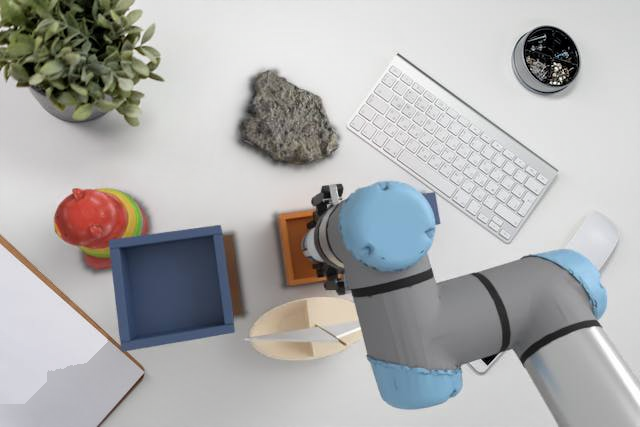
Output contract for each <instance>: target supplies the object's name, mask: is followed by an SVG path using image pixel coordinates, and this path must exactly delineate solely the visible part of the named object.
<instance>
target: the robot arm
mask: <svg viewBox="0 0 640 427" xmlns="http://www.w3.org/2000/svg"><path fill="white" fill-rule="evenodd" d="M343 194H344V186H343V184H342V183H334V184H326V185H321V188H320V192H318V193H317V194H315V195H314V196H312V197H311V200H310V204H311V205H312V207H315V210H316V211H313V214H312V216H313V220H312V221H310V222H309V223H307V224H306V226H307V229H311V228H314V227H315V230H314V244H315V247H316V250H317V252H318V254H319V256H320V257H321V258H322V259H323V260H324V261H325V262H324V263H317V264H312V266H313V269H316V274H317V278H321V277H326V278H327V280H324V281H323V283H324V284H323V288H324V289H325V291H335V292H336V293H337V295H338V296H345V295H352V299H353V303H354V304H355V307H356V311H357V315H358V319H359V323H360V327H361V331H362V335H363V336H362V339H363V342H364V346H365V350H366V355H365V356H366V360H367V361H368V363H370V367H371V370H372V373H373V377H374V380H375V383H376V386H377V389H378V391H379V394H380V397H381V399H382V401H383V402H385V403H386V404H387V405H389V406H391V407H392V408H394V409H399V410H404V411H405V410H408V411H409V410H412V411H413V410H423V409H427V408H432V407H435V406H439V405H442V404H444V403H447V401H448V400H450V399H452V398H455V397H457V395H459V394H460V392H461V391H462V388H463V385H464V383H463V380H464V379H463V369H462V366H463V365H466V364H469V363H471V362H475V361H479V360H482V359H485V358H488V357H491V356H493V355H498V354H500V353H503V352H506V351H510V350H512V351H513V352H514V353H515V356H516V357H517V359H518V360H519V361H520V363H521V365H522V366H523V368H524V369H525V371H526V372H527V374H528V376H529V378H530V379H531V381H532V383H533V385H534V386H535V389H537V392H538V393H539V395H540V397H541V398H542V400H543V402H544V403H545V405H546V407H547V409H548V411H549V413H550V414H551V416H552V418H553V419H554V421H555V423H556V425H557V427H640V379H639V377H638V376H637V375H636V373H635V372H634V371H633V369H632V368H631V366H630V365H629V364H628V362H627V360H626V359H625V358H624V356H623V355H622V354H621V352H620V350H619V349H618V348H617V347H616V345H615V344H614V342H613V341H612V340H611V338H610V336H609V335H608V334H607V333H606V331H605V329H604V328H603V326H602V324H601V323H600V322H599V320H600V319H601V318H603V315H604V314H605V313H606V310H607V306H608V292H607V288H606V287H605V286H604V285H603V283H602V282H601V278H602V275H601V273H600V271H599V270H598V269H597V267H596V266H595V264H594V263H593V262H592V261H591V260H590V259H589V258H588V257H586V255H584V254H582V253H580V252H578V251H576V250H573V249H569V248H560V249H555V250H550V251H543V252H539V253H532V254H528V255H523V256H522V257H521V258H519V259H515V260H512V261H509V262H506V263H503V264H499V265H496V266H493V267H489V268H487V269H483V270H480V271H477V272H472V273H468V274H467V273H466V274H463V275H460V276H456V277H453V278H449V279H446V280H441V281H438V282H437V280H436V277H435V275H434V270H433V268H432V264H431V261H430V258H429V254H428V252H429V251H430V249H431V247H432V245H433V242H434V238H435V234H436V225H435V218H434V213H433V211H432V208H431V206H430V204H429V203H428V201H427V200H426V198H425V197H424V196H423V195H422V194H423V193H421V192H420V191H419V190H418V189H417V188H416V187H414V186H412V185H410V184H407V183H405V182H401V181H396V180H383V181H377V182H375V183H373V184H370V185H367V186H363V187H362V186H361V187H359V188H357V189H355V191H354V192H351V193H350V194H349V195H348V197H346V198H345V199H344V198H343ZM340 274H342V276H341V277H340V278H338V275H340Z"/></svg>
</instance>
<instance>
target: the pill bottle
mask: <svg viewBox="0 0 640 427" xmlns="http://www.w3.org/2000/svg"><path fill="white" fill-rule="evenodd" d="M314 230H315V227H314V228H312V229H311V230H309V231H308V232H307V233H306V234H305V235H304V237H303V239H302V243H301V248H302V252H303V254H304V255H305V257H306V258H307V259H308V260H310V261H312V262H315V263H324V262H325V261H324V260H323V259H322V258H321V257H320V256H319V254H318V252H317V250H316V247H315V244H314Z"/></svg>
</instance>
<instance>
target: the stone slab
mask: <svg viewBox="0 0 640 427" xmlns="http://www.w3.org/2000/svg"><path fill="white" fill-rule="evenodd" d="M253 88H254V89H255V90H254V92H253V94H252V96H251V99H250V101H249V103H248V105H247V108H246V112H247V114H249V115H253V116H254V117H247V118H245V119H244V120H243V122H241V126H240V130H239V131H240V134H241V138H242V142H244V143H247V144H248V145H250V146H253V147H255V148H258V149H261V150H263V151H264V153H266V154H267V156H268V157H269V158H270V159H272V160H273V161H279V162H282V163H283V162H284V163H291V164H296V165H301V164H303V165H309V164H311V163H314V162H316V161H319V160H326V159H327V158H329V157H330V155H332V153H333V152H335V151H336V150H338V149H339V148H340V143H339V139H338V132H337V130H335V128H333V127H332V124H331V122H330V119H329V118H330V117H329V116H328V114H327V110H326V108H325V105H324V103H323V100H322V98H321V96H319V95H317V94H314V93H313V92H310V91H309V90H306V89H305V88H300V87H299V86H297V85H295V84H294V83H292V82H289V81H288V80H287V78H285V77H283V76H281V75H280V76H279V75H277V74H276V73H274V72H271V70H270V69H268V70H267V69H266V70H265V71H264V72H263V71H262V72H260V73H259V74H258V75H257V77H256V78H255V79H254V82H253Z"/></svg>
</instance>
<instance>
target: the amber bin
mask: <svg viewBox="0 0 640 427" xmlns="http://www.w3.org/2000/svg"><path fill="white" fill-rule="evenodd" d="M313 211H316V209H313V210H304V211H297V212H290V213H289V212H287V213H282V214H279V215H278V216H277V217H276V219H277V226H278V232H279V239H280V245H281V246H280V247H281V252H282V259H283V268H284V273H285V274H284V275H285V280H286V281H285V282H286V285H287V286H290V287H293V286H298V285H304V284H310V283H316V282H325V281H327V278H326V277H321V278H317V274H316V269H313V266H312V264H317V263H315V262H312V261H310V260H308V259H307V258H306V257H305V255H304V254H303V252H302V248H301V243H302V239H303V237H304V235H305V234H306V233H307V232H308V231H309V230H311V229H312V228H311V229H307V226H306V224H307V223H309V222H310V221H312V220H313V216H312V214H313ZM341 276H342V274H340V275H338V278H340V277H341Z"/></svg>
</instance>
